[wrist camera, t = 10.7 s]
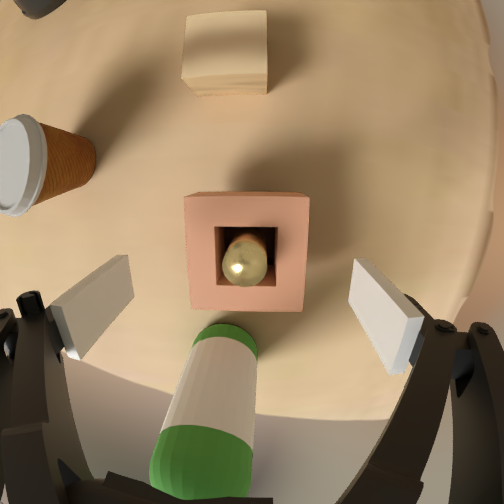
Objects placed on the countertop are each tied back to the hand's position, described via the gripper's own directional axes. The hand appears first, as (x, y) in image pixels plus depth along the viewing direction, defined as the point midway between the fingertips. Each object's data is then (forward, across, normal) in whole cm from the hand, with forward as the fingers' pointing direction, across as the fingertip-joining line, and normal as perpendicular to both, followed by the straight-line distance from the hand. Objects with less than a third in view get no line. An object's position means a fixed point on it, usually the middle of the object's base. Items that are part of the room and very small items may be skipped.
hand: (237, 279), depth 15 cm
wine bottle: (+13, -3, -15) cm, 20 cm away
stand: (+14, -2, +17) cm, 22 cm away
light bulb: (+13, 0, -1) cm, 13 cm away
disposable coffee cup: (+14, -21, +8) cm, 26 cm away
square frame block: (+10, 0, -1) cm, 10 cm away
